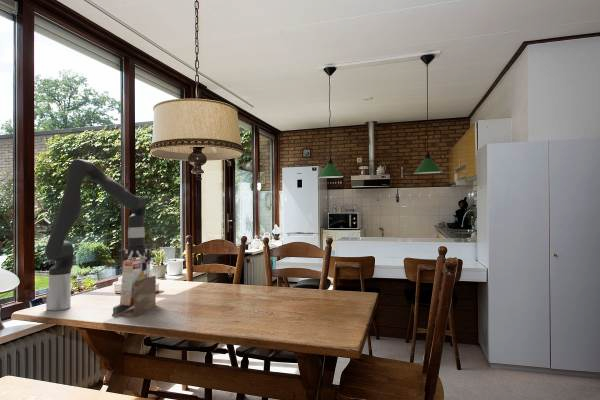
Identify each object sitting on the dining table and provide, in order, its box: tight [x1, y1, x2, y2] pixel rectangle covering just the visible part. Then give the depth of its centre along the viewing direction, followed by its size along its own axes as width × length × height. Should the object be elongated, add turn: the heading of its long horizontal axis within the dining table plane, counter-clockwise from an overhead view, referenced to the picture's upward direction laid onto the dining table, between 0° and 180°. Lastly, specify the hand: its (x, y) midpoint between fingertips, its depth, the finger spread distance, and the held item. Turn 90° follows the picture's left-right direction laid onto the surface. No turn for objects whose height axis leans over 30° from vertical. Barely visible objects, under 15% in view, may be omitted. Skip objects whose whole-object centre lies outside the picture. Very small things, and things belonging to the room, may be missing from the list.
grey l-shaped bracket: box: [111, 275, 157, 317], centre depth 180 cm, size 12×20×15 cm, turn 179°
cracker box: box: [119, 257, 151, 306], centre depth 181 cm, size 14×6×21 cm, turn 169°
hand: (137, 270), depth 181 cm, fingers closed on cracker box, 6 cm apart
